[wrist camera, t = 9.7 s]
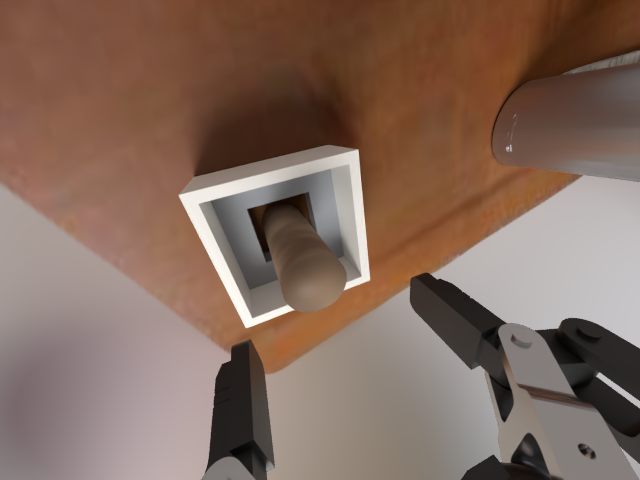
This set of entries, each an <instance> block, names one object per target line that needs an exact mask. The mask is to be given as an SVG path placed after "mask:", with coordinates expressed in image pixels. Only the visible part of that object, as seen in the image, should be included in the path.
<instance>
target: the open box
mask: <svg viewBox="0 0 640 480" xmlns="http://www.w3.org/2000/svg"><path fill="white" fill-rule="evenodd" d="M303 193H304V194H305V198H306V203H307V207H308V212H309V216H310V221H311V225H312V227H313V229H314V230H315V231H316V232H317V234H318V235H319V236H320V237H321V239H322V240H323V241H324V242H325V244H326V245H327V246H328V247H329V249H330V250H331V251H332V252H333V254H334V255H335V256H336V257H337V258H338V260H339V261H340V262H341V263H342V265H343V266H344V268H345V270H346V274H347V282H346V286H345V288H344V290H346V289H349V288H351V287H354V286H356V285H359V284H361V283H364V282H367V281H369V280H370V275H369V263H368V252H367V241H366V230H365V219H364V208H363V196H362V185H361V174H360V163H359V152H358V149H352V148H346V147H340V146H333V145H325V146H321V147H316V148H312V149H308V150H304V151H300V152H296V153H292V154H287V155H283V156H279V157H275V158H271V159H267V160H262V161H258V162H254V163H250V164H246V165H242V166H238V167H233V168H229V169H225V170H221V171H217V172H213V173H209V174H204V175H200V176H196V177H193V179H192V180H191V181H190V182H189V183H188V184H187V186H186V187H185V188H184V189H183V190H182V191H181V193H180V194H179V197H180V199H181V201H182V203H183V205H184V207H185V209H186V211H187V213H188V215H189V217H190V219H191V221H192V223H193V225H194V227H195V229H196V231H197V233H198V235H199V236H200V238H201V240H202V242H203V244H204V246H205V248H206V250H207V252H208V254H209V256H210V258H211V260H212V262H213V264H214V266H215V268H216V270H217V272H218V274H219V276H220V278H221V280H222V282H223V284H224V286H225V288H226V290H227V292H228V294H229V296H230V298H231V299H232V301H233V303H234V305H235V307H236V309H237V311H238V313H239V315H240V317H241V319H242V321H243V323H244V325H245V327H246V328H249V327H251V326H254V325H256V324H259V323H261V322H264V321H267V320H269V319H272V318H274V317H277V316H279V315H282V314H284V313H287V312H290V311H292V310H294V309H292V308H291V307H290V306H289V305H288V304H287V303H286V302H285V300H284V297H283V294H282V290H281V287H280V284H279V280H278V277H277V274H276V270H275V267H274V263H273V260H272V257H271V253H270V251H268V252H265V253H264V252H263V249H262V247H261V244H260V241H259V238H258V236H257V233H256V230H255V227H254V224H253V222H252V219H251V216H250V213H249V211H248V209H249V208H253V207H256V206H260V205H264V204H267V203H271V202H274V201H278V200H281V199H285V198H288V197H292V196H296V195H299V194H303Z"/></svg>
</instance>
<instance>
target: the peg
mask: <svg viewBox="0 0 640 480" xmlns="http://www.w3.org/2000/svg"><path fill="white" fill-rule="evenodd" d="M262 226H263V229H264V233H265V236H266V240H267V243H268V246H269V250H270V253H271V257H272V260H273V263H274V267H275V270H276V274H277V277H278V280H279V284H280V287H281V290H282V294H283V297H284V300H285V302H286V303H287V304H288V305H289V306H290V307H291V308H292V309H294V310H297V311H300V312H315V311H319V310H322V309H324V308H326V307H328V306H329V305H331V304H332V303H334V302H335V301H336V300H337V299H338V298H339V297H340V295H341V294H342V292H343V290H344V288H345V286H346V282H347V274H346V270H345V268H344V266H343V265H342V263H341V262H340V261H339V260H338V258H337V257H336V256H335V255H334V254H333V252H332V251H331V250H330V249H329V247H328V246H327V245H326V244H325V242H324V241H323V240H322V239H321V237H320V236H319V235H318V234H317V232H316V231H315V230H314V229H313V227H312V226H311V225H310V224H309V222H308V221H307V220H306V219H305V217H304V216H303V215H302V214H301V212H300V211H299V210H298V209H297V208H296V207H295V206H294V205H292V204H290V203H287V202H279V203H275V204H273V205H271V206H270V207H269V208H268V209H267V210H266V211H265V213H264V215H263V218H262Z"/></svg>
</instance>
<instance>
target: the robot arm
mask: <svg viewBox="0 0 640 480" xmlns="http://www.w3.org/2000/svg"><path fill="white" fill-rule="evenodd" d="M492 149H493V153H494V156H495V158H496V159H497V161H499V162H500V163H501V164H505V165H511V166H519V167H527V168H534V169H541V170H549V171H557V172H564V173H572V174H580V175H588V176H596V177H604V178H611V179H612V178H613V179H620V180H628V181H635V182H640V62H638V63H632V64H626V65H620V66H614V67H608V68H602V69H596V70H590V71H584V72H577V73H571V74H565V75H559V76H553V77H547V78H541V79H536V80H531V81H528V82H526V83H525V84H523V85H522V86H520V87H519V88H518V89H517V90H516V91H515V92H514V93H513V94H512V95H511V96H510V97H509V99H508V100H507V102H506V103H505V105H504V106H503V108H502V110H501V112H500V114H499V116H498V119H497V121H496V124H495V128H494V131H493V138H492ZM410 303H411V305H412V308H413V309H414V311H415V312H416V313H417V314H418V315H419V316H420V317H421V318H422V319H423V320H424V321H425V322H426V323H427V324H428V325H429V326H430V327H431V328H432V330H433V331H434V332H435V333H436V334H437V335H438V336H439V337H440V338H441V339H442V340H443V341H444V342H445V343H446V344H447V345H448V346H449V347H450V348H451V349H452V350H453V351H454V352H455V353H456V354H457V355H458V357H459V358H460V359H461V360H462V361H463V362H464V363H465V364H466V365H467V366H468V367H469V368H470V369H471V370H472V369H474V368H476V367H478V366H481V367H483V368H484V369H485V378H486V382H487V385H488V389H489V393H490V396H491V400H492V404H493V408H494V412H495V416H496V419H497V423H498V443H499V450H500V455H501V459H502V462H501V463H500V462H499V461H498V459H497V458H496V457H495V456H494V455H492V456H490V457H489V458H487V459H485V460H484V461H482V462H481V463H479V464H477V465H476V466H474V467H472V468H471V469H469V470H467V472H466V473H465V475H464V476H463V478H462V479H461V480H639V478H638V477H637V475H636V473H635V472H634V470H633V468H632V467H631V465H630V463H629V462H628V460H627V459H626V457H625V455H624V453H623V452H622V450H621V448H622V449H623V450H625V451H626V452H627V453H628V454H629V455H630V456H631V457H632V458H634V459H635V460H636V461H637V462H638V463H639V464H640V409H639V408H638V407H637V406H635V405H634V404H633V403H631V402H630V401H629V400H627V399H626V398H625V397H623V396H622V395H621V394H619V393H618V392H616V391H615V390H614V389H612V388H611V387H610V386H608V385H607V384H606V383H604V382H603V381H602V380H600V379H599V378H597V377H596V376H597V374H598V373H599V372H600V373H602V374H603V375H604V376H606V377H607V378H608V379H610V380H611V381H613V382H614V383H615V384H617V385H619V386H620V387H621V388H622V389H624V390H625V391H627V392H628V393H629V394H631V395H632V396H634V397H635V398H636V399H638V400H639V401H640V349H639V348H638V347H636V346H634V345H633V344H631V343H629V342H627V341H626V340H624V339H622V338H621V337H619V336H617V335H615V334H614V333H612V332H610V331H609V330H607V329H605V328H603V327H602V326H600V325H598V324H595V323H593V322H590V321H587V320H583V319H578V318H568V319H565V320H563V321H562V322H561V324H560V326H559V328H558V329H549V330H548V329H547V330H535V331H534V330H532V329H530V328H528V327H526V326H523V325H520V324H514V323H508V324H507V323H505V322H504V321H503V320H501V319H500V318H498V317H497V316H496V315H494V314H493V313H492V312H490V311H489V310H488V309H486V308H485V307H483V306H482V305H481V304H479V303H478V302H476V301H475V300H474V299H472V298H470V296H468V295H467V294H466V293H464V292H462V291H461V290H460V289H459V288H457V287H456V286H455V285H453V284H452V283H449V282H447V281H444V280H442V279H438V280H437V279H436V278H434V277H433V276H432V275H430V274H429V273H423V274H420V275H418V276H415V277H412V278H411V282H410ZM620 447H621V448H620ZM274 468H275V464H274V454H273V445H272V436H271V427H270V418H269V409H268V400H267V391H266V382H265V373H264V368H263V364H262V361H261V359H260V357H259V355H258V353H257V351H256V349H255V347H254V345H253V343H252V341H251V340H250V339H249V340H246V341H244V342H241V343H238V344H236V345H233V346H232V349H231V361H229V362H226V363H224V364H222V366H221V368H220V370H219V372H218V375H217V377H216V383H215V396H214V408H213V416H212V428H211V440H210V452H209V460H208V465H207V469H206V471H205V474H204V476H203V477H202V479H201V480H267V473H266V472H268V471H270V470H272V469H274Z"/></svg>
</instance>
